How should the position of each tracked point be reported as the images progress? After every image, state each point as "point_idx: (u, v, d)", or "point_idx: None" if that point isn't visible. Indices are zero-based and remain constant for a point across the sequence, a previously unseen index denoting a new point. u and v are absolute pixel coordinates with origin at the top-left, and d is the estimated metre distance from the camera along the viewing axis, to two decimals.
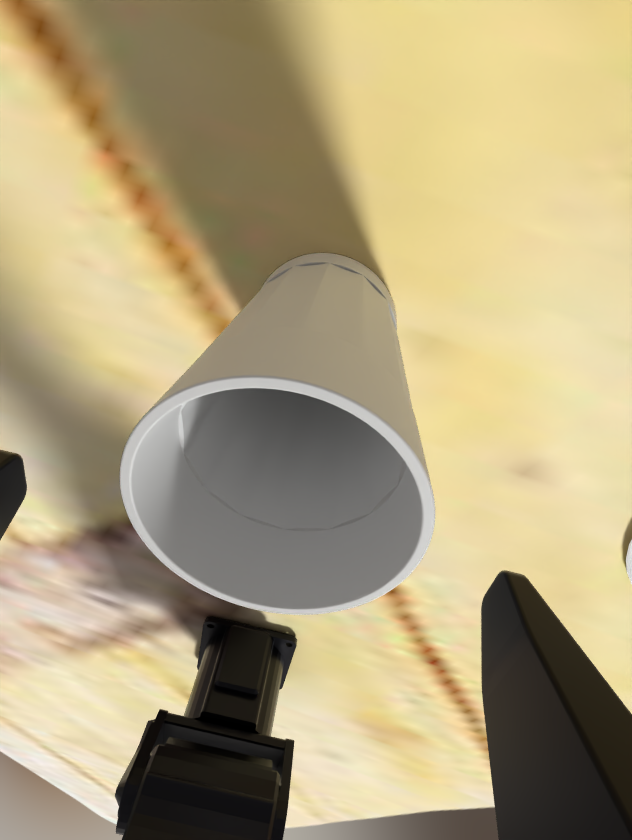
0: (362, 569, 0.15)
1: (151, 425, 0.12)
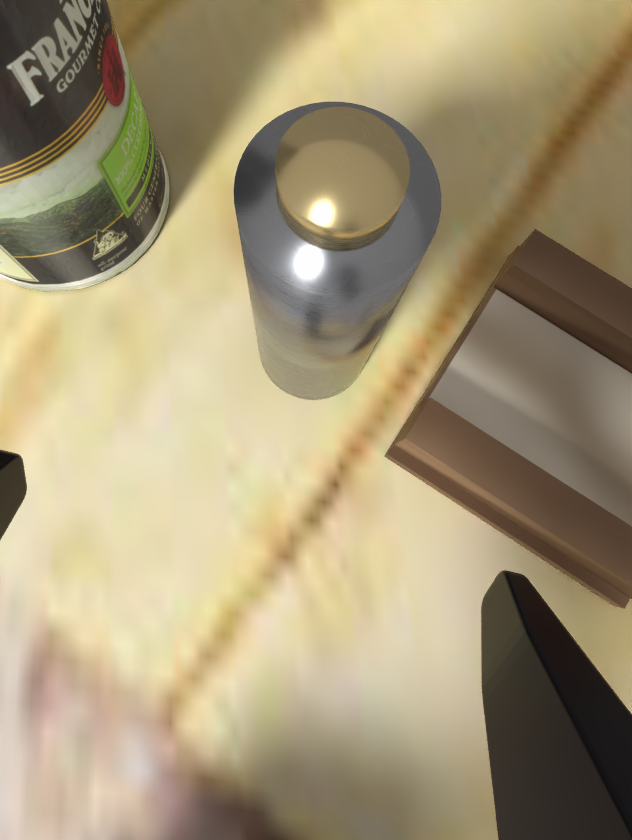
0: None
1: None
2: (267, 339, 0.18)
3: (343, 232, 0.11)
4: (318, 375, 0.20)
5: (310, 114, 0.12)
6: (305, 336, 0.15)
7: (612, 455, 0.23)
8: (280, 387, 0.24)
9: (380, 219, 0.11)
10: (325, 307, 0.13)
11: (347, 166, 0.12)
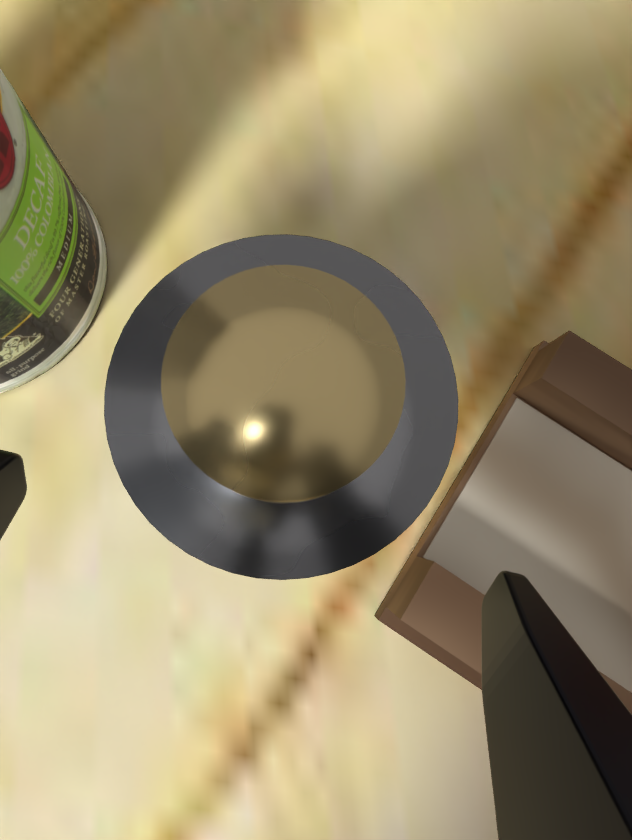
0: None
1: None
2: None
3: (285, 502, 0.06)
4: None
5: (229, 279, 0.07)
6: None
7: None
8: None
9: (351, 479, 0.06)
10: None
11: (293, 377, 0.06)
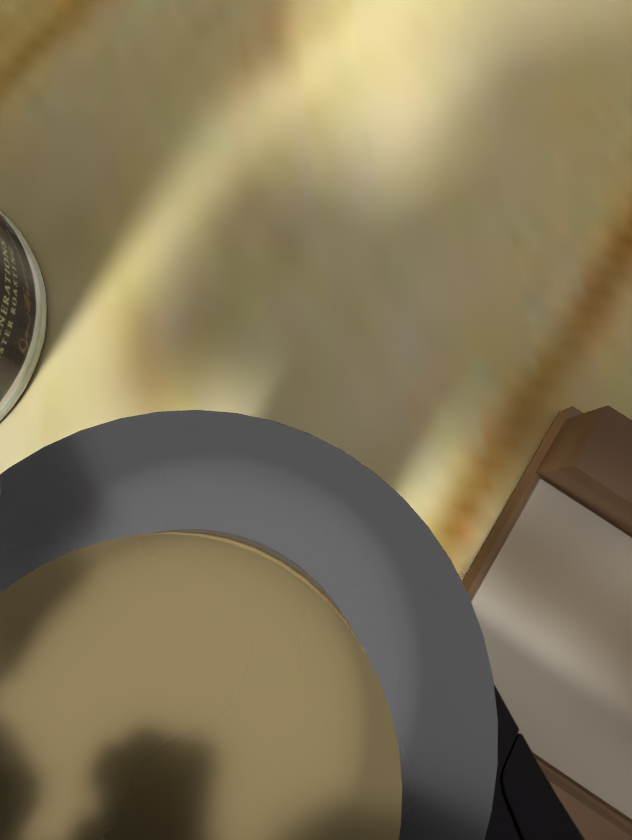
0: None
1: None
2: None
3: None
4: None
5: (49, 562, 0.03)
6: None
7: None
8: None
9: None
10: None
11: (167, 792, 0.03)
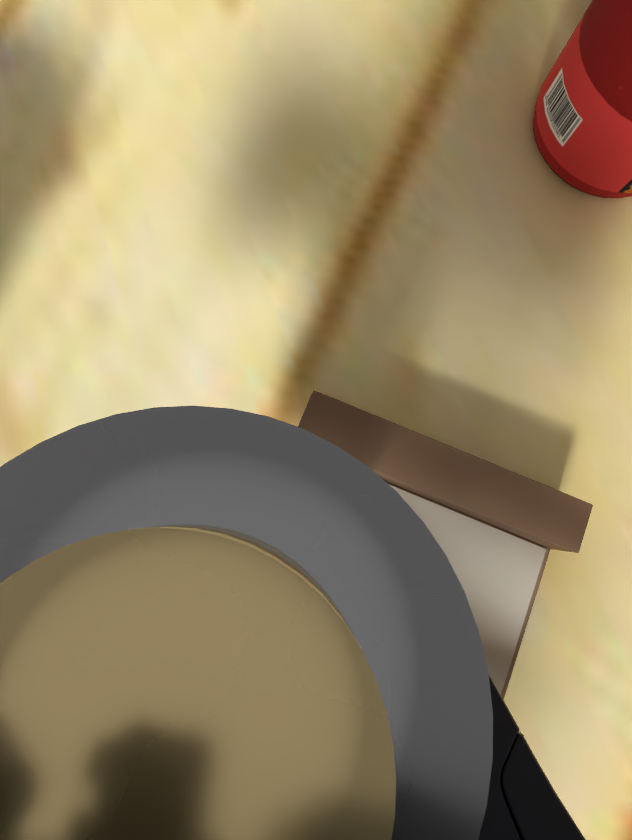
0: None
1: None
2: None
3: None
4: None
5: (42, 557, 0.03)
6: None
7: None
8: None
9: None
10: None
11: (162, 785, 0.03)
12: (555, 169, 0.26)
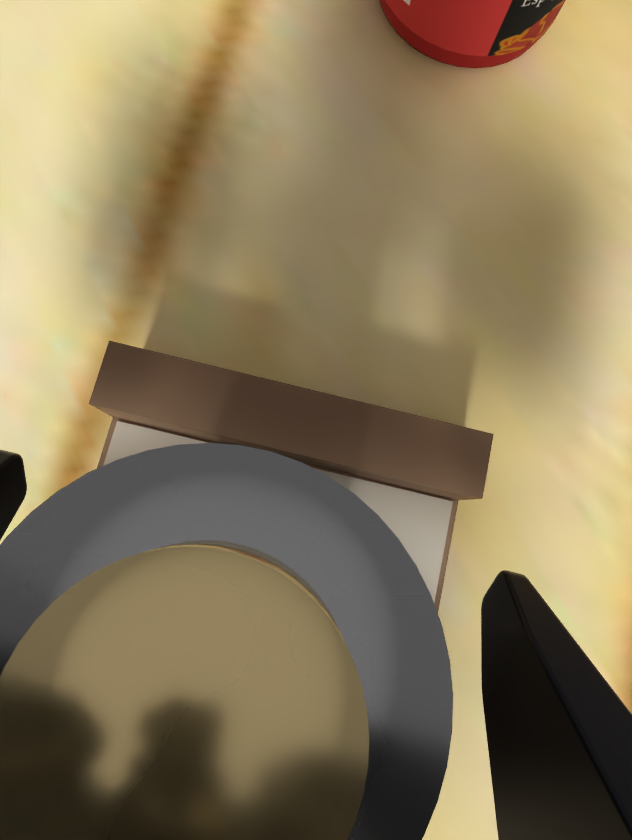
0: None
1: None
2: None
3: None
4: None
5: (99, 569, 0.04)
6: None
7: None
8: None
9: None
10: None
11: (192, 742, 0.04)
12: (410, 41, 0.21)
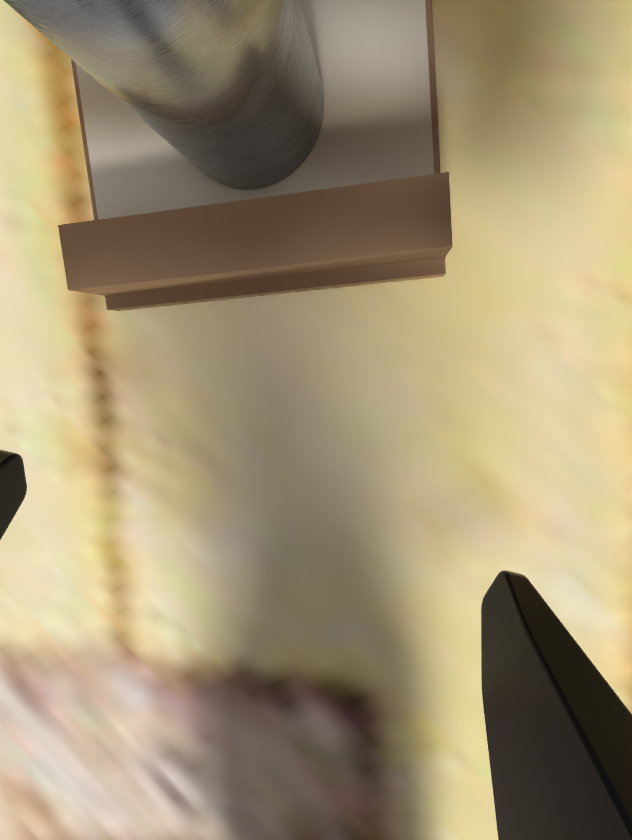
0: None
1: None
2: (126, 103, 0.12)
3: None
4: (233, 135, 0.13)
5: None
6: (126, 54, 0.09)
7: (324, 108, 0.17)
8: (224, 184, 0.17)
9: None
10: None
11: None
12: None
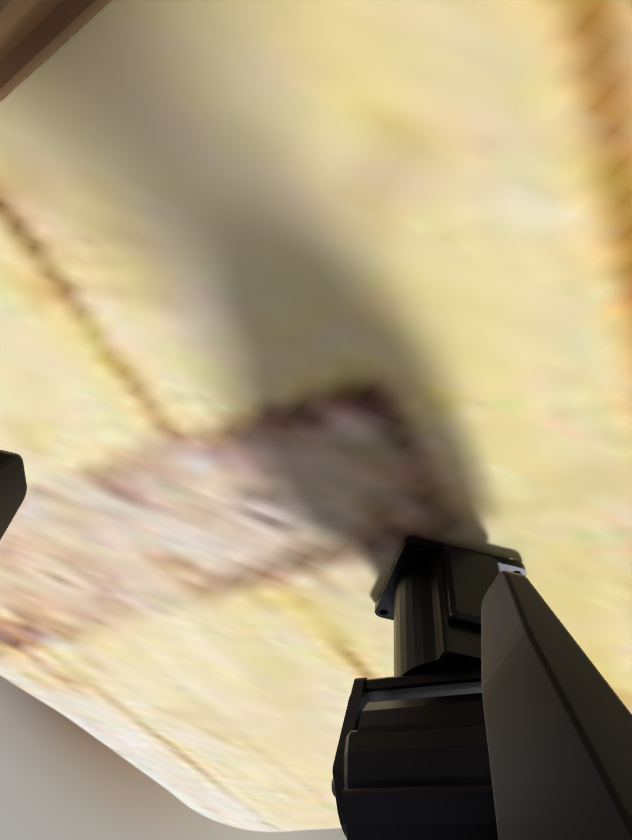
0: None
1: None
2: None
3: None
4: None
5: None
6: None
7: None
8: None
9: None
10: None
11: None
12: None
